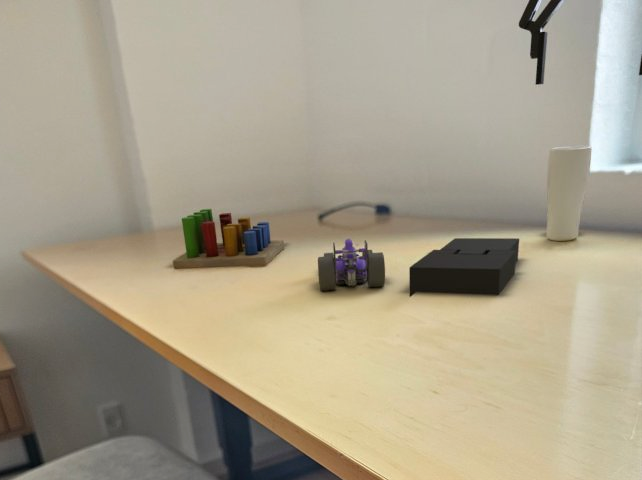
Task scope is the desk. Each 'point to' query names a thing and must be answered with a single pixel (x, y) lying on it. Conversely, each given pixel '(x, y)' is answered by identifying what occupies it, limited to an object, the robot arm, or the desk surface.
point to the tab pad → (482, 245)
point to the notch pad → (462, 272)
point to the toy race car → (351, 267)
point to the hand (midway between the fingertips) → (589, 80)
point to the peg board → (225, 243)
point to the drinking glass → (566, 190)
